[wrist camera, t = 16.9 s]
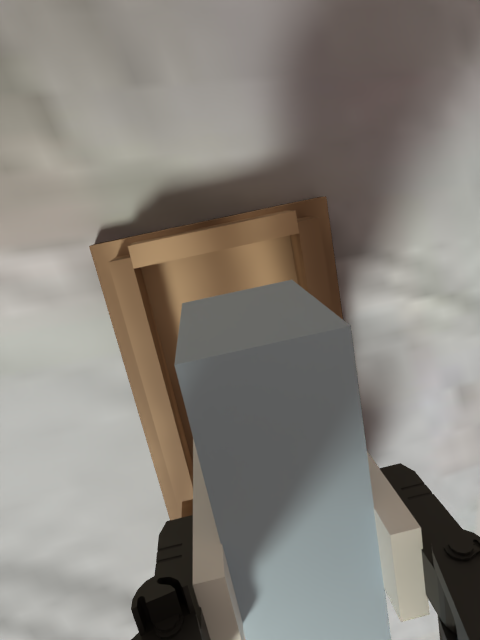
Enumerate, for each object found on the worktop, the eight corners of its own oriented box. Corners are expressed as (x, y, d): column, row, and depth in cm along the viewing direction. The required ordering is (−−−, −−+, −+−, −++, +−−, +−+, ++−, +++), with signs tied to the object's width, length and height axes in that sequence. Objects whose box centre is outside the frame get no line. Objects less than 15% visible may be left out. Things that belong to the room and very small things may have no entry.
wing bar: (246, 567, 18) (269, 732, 13) (182, 303, 15) (174, 364, 9) (335, 545, 19) (398, 698, 13) (291, 279, 15) (350, 325, 9)
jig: (203, 620, 34) (205, 669, 30) (93, 244, 25) (77, 250, 22) (373, 576, 34) (394, 619, 31) (320, 196, 26) (340, 195, 23)
